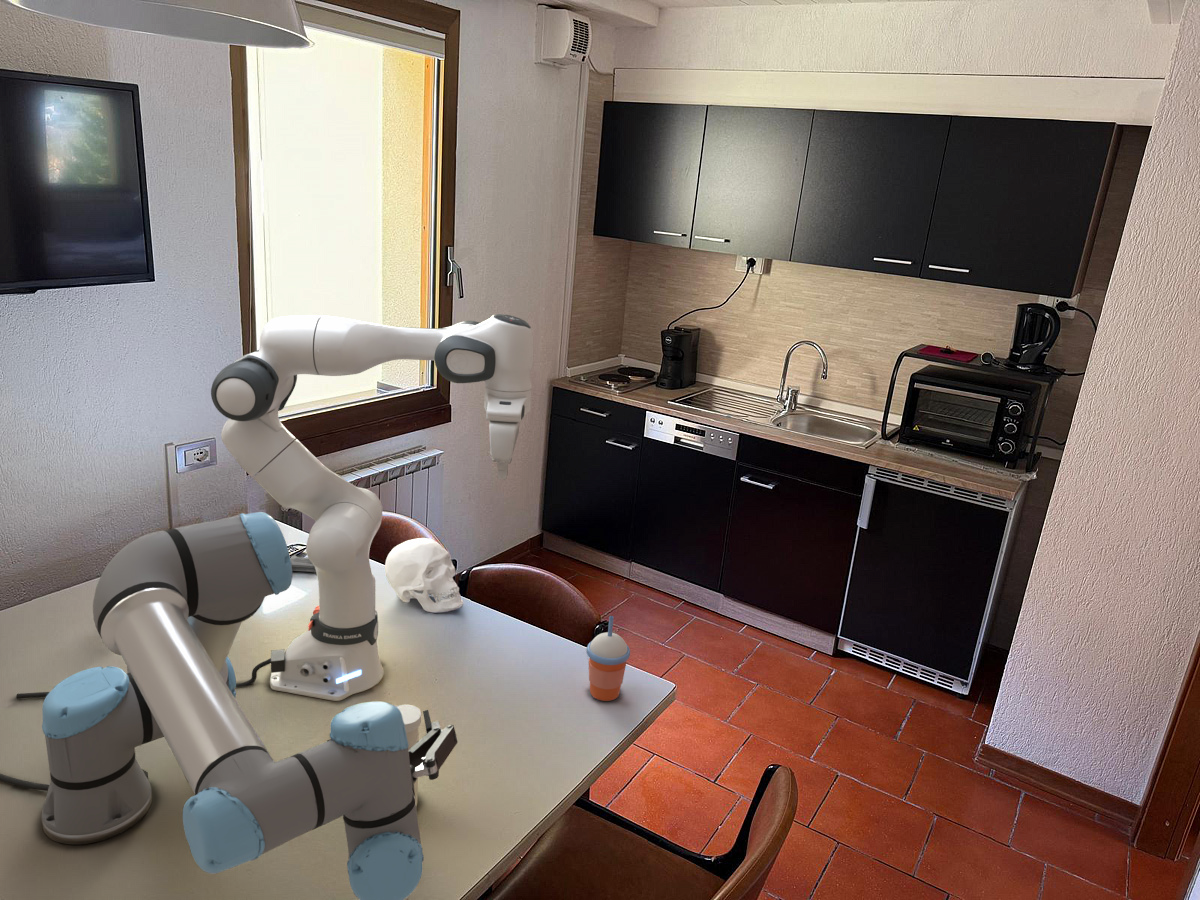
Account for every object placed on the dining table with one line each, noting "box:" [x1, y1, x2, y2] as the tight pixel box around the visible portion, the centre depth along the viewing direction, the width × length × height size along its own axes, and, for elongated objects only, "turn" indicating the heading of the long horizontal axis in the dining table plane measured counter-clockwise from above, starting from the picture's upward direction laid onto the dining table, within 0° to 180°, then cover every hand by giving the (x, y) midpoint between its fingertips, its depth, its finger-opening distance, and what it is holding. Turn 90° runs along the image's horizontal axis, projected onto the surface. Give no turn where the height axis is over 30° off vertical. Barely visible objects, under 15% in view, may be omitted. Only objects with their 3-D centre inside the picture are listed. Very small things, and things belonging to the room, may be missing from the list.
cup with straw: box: [586, 615, 631, 702], centre depth 178 cm, size 9×9×18 cm
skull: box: [384, 537, 465, 614], centre depth 211 cm, size 13×22×16 cm, turn 67°
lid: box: [395, 704, 422, 733], centre depth 140 cm, size 6×6×2 cm
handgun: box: [290, 554, 316, 573], centre depth 220 cm, size 2×18×12 cm
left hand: (380, 733), depth 122 cm, fingers open, 13 cm apart
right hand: (504, 470), depth 166 cm, fingers open, 8 cm apart
